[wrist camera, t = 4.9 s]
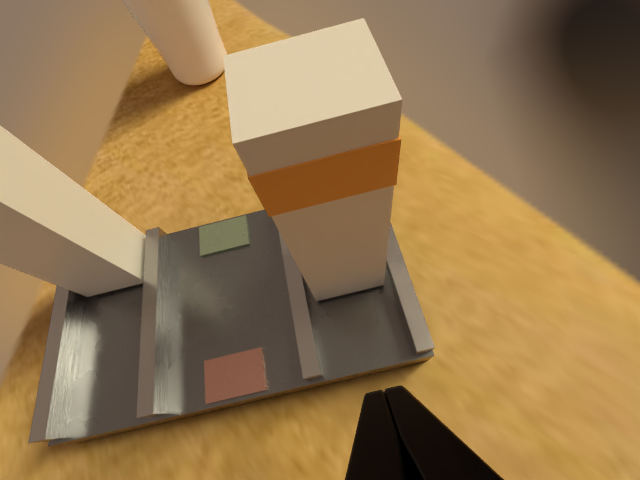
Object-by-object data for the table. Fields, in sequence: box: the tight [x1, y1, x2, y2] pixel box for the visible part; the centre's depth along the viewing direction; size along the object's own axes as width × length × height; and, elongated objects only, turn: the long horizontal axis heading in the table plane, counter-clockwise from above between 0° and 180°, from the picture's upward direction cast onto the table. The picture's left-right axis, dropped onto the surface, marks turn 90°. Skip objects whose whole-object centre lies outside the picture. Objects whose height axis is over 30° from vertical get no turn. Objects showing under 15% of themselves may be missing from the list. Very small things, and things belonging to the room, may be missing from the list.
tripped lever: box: [223, 18, 402, 301], centre depth 13 cm, size 3×4×12 cm
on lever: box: [0, 126, 146, 297], centre depth 15 cm, size 3×4×12 cm
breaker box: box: [29, 210, 435, 446], centre depth 19 cm, size 10×19×3 cm, turn 102°
